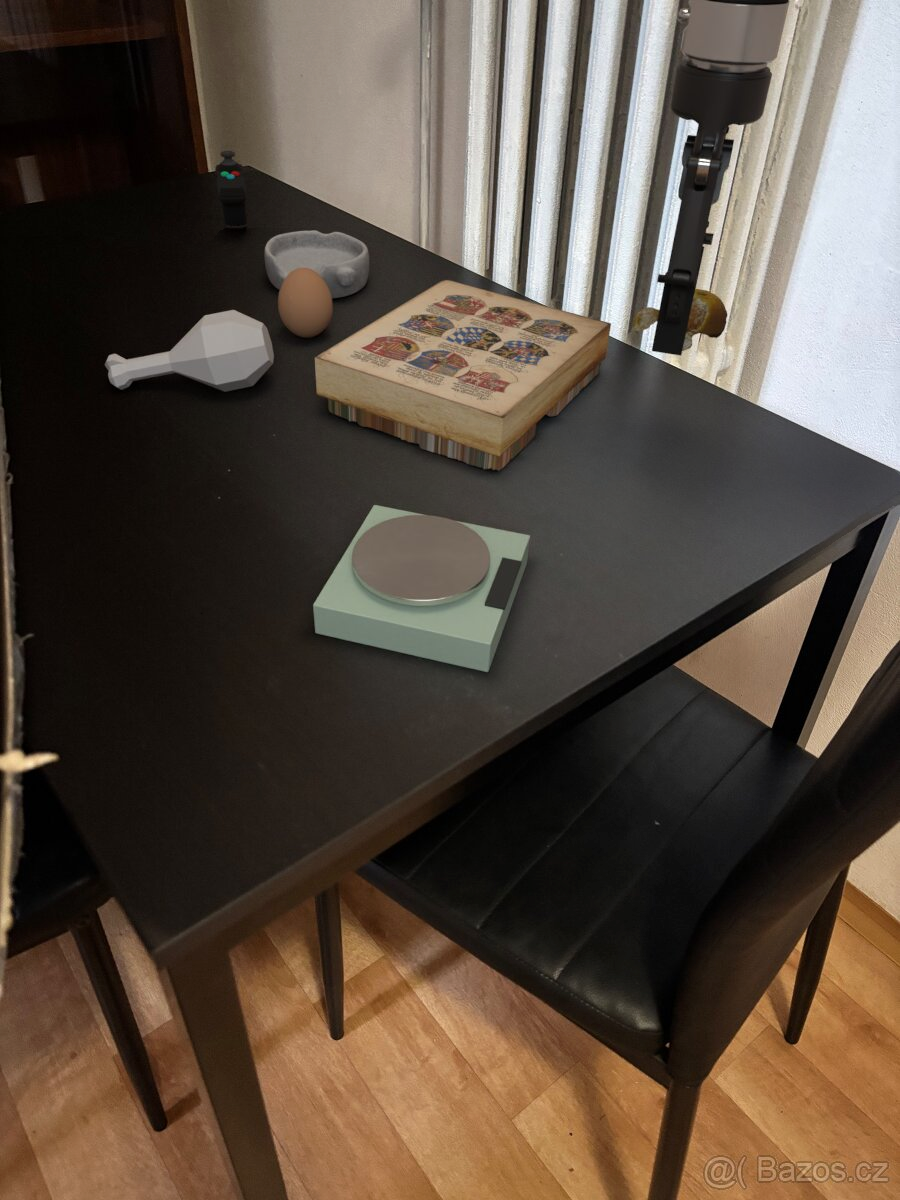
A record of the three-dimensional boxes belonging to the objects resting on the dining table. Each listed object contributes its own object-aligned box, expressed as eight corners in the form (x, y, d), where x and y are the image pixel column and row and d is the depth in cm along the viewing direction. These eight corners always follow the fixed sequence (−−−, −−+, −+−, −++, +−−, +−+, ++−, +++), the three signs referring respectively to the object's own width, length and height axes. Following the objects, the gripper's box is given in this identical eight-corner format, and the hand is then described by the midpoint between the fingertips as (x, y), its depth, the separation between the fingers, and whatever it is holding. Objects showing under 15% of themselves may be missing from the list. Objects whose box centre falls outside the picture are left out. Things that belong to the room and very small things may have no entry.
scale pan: (503, 534, 76) (504, 529, 75) (470, 619, 68) (470, 613, 67) (379, 510, 78) (378, 504, 77) (331, 589, 70) (331, 583, 69)
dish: (366, 305, 118) (365, 267, 115) (259, 301, 118) (255, 263, 115) (373, 263, 129) (372, 227, 126) (275, 260, 129) (272, 223, 125)
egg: (345, 333, 112) (342, 267, 106) (310, 352, 107) (306, 284, 102) (304, 320, 114) (299, 254, 109) (269, 337, 110) (262, 270, 105)
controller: (249, 215, 142) (241, 146, 135) (253, 244, 133) (245, 171, 126) (220, 216, 141) (212, 147, 135) (223, 245, 132) (214, 172, 126)
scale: (528, 562, 79) (531, 532, 77) (489, 673, 68) (492, 642, 66) (374, 531, 81) (373, 502, 79) (314, 633, 71) (312, 602, 69)
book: (431, 318, 116) (296, 406, 98) (432, 268, 112) (292, 350, 94) (608, 369, 108) (497, 476, 89) (617, 317, 103) (503, 418, 85)
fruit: (623, 320, 89) (629, 284, 87) (693, 309, 92) (701, 273, 90) (671, 355, 83) (679, 317, 81) (744, 342, 86) (754, 305, 84)
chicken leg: (124, 369, 104) (89, 319, 97) (277, 339, 103) (254, 287, 96) (123, 428, 101) (87, 381, 93) (281, 398, 100) (258, 348, 92)
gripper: (689, 36, 81) (646, 285, 96) (664, 84, 65) (617, 373, 80) (775, 43, 80) (718, 295, 94) (771, 94, 64) (703, 387, 78)
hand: (671, 330), depth 87 cm, fingers closed on fruit, 9 cm apart
